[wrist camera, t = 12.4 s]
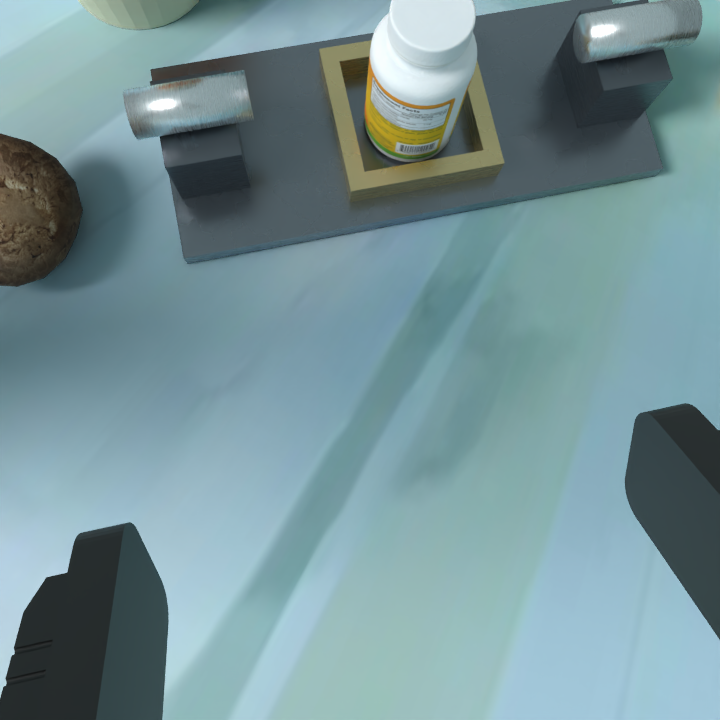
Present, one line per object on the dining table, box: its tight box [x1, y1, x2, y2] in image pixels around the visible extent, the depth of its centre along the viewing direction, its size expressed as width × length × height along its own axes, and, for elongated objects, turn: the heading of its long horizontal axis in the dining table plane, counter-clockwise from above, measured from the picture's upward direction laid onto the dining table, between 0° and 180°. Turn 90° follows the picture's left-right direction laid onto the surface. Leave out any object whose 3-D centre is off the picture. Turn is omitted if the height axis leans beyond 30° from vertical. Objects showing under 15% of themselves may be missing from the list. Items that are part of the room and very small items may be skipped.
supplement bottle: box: [364, 0, 477, 162], centre depth 35 cm, size 5×5×10 cm
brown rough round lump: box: [0, 134, 83, 287], centre depth 36 cm, size 8×8×6 cm
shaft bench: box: [123, 0, 702, 264], centre depth 37 cm, size 30×12×7 cm, turn 102°
